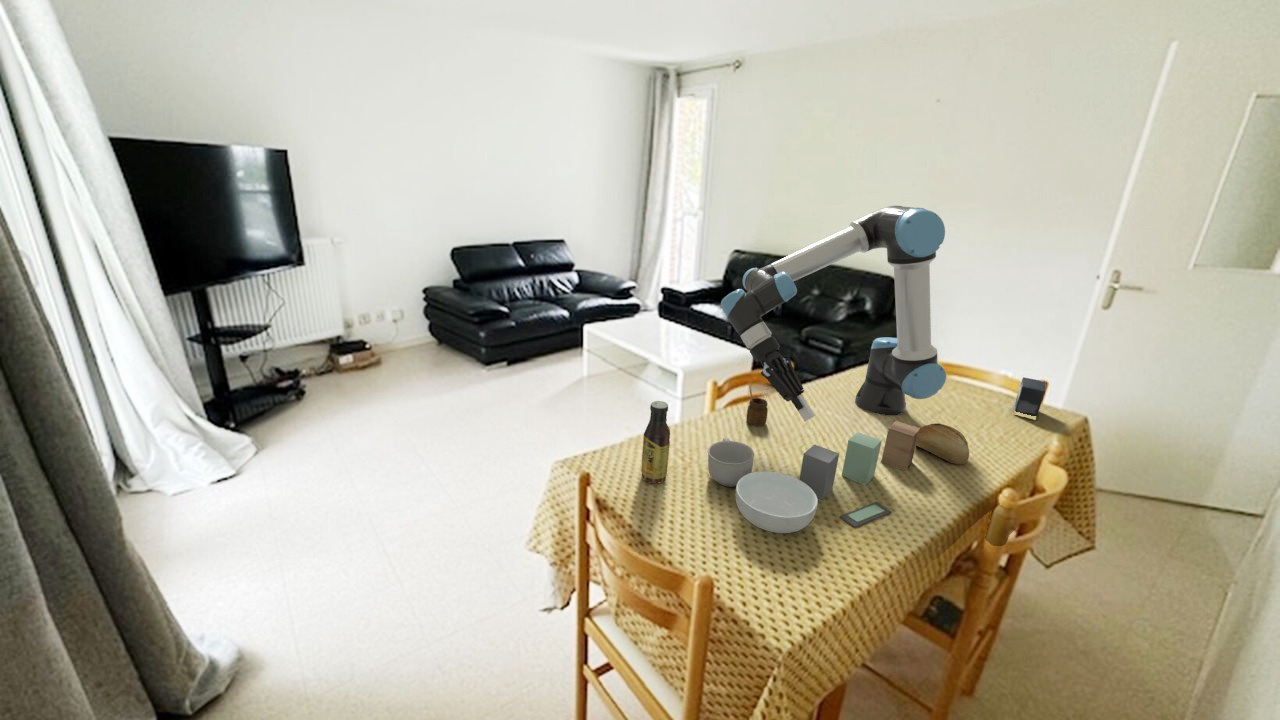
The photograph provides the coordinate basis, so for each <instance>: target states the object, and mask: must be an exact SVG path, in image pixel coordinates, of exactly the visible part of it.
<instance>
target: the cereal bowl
mask: <svg viewBox="0 0 1280 720" xmlns="http://www.w3.org/2000/svg"><path fill="white" fill-rule="evenodd" d="M735 502H736V505H737V508H738V510H739V513H740V514H742V516H743V517H744V519H746V520H747V521H748V522H750V524H751V525H752V524H753V526H754V527H757V528H760V529H762V530H765V531H766V532H771V533H775V534H776V533H777V534H788V533H789V534H791V533H794V532H798V531H800V530H803V529H804V528H806V527H807V526H808V525H809V524H811V522H812V520H813V519H814V517H815V515H816V512H817V507H818V503H819V500H818V499H817V496H816V494H815V493H814V491H813V490H812V489H811V488H810V487H809V486H808V485H806V484H805V483H804V482H802V481H800V480H799V479H798V478H796V477H793V476H792V475H788V474H787V473H781V472H777V471H771V470H770V471H761V470H760V471H754V472H752V473H750V474H747V475H745V476H743V477H742V478H741V479H740V480H739V481H738V483H737V486H735Z"/></svg>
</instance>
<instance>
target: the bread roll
mask: <svg viewBox="0 0 1280 720" xmlns="http://www.w3.org/2000/svg"><path fill="white" fill-rule="evenodd" d="M919 428H920V431H919V435H918V439H917V443H916V447H919V448H921V449H923V450H925V451H927V452H930V453H931V454H934V455H936V456H937V457H939V458H941V459H943V460H945V461H946V462H948V463H951V464H953V465H963V464H966V463H967V462H968V461H969V457H970V449H969V444H968V441H967V438H966V437H965V435H964V434H963V433H961V431H959V430H958V429H956V428H954V427H951V426H950V425H947V424H943V423H939V422H938V423H930V424H927V425H923V426H921V427H920V426H919Z"/></svg>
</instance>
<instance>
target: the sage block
mask: <svg viewBox="0 0 1280 720" xmlns="http://www.w3.org/2000/svg"><path fill="white" fill-rule="evenodd" d="M882 442H883V440H882V439H879V438H876V437H873V436H871V435H867V434H864V433H862V432H858V431H856V433H855V434H853V436H851V437H850V438H849V439H848V442H847V445H846V446H847V447H846V451H845V457H844V462H843V466H842V471H841V476H842V477H845V479H846V478H847V479H849V480H852V481H854V482H856V483H859V484H862V485H864V486H867V484H869V483H870V481H871V480H872V479H873V477H875V473H876V469H877V464H878V461H879V460H878V459H879V454H880V451H881V446H882Z"/></svg>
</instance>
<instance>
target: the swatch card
mask: <svg viewBox="0 0 1280 720" xmlns="http://www.w3.org/2000/svg"><path fill="white" fill-rule="evenodd" d="M889 514H892V510H891V509H889V508H887V507H885V506H884V505H882V503H879V502H878V501H875V502H872V503H869V504H867V505H864V506H861V507H859V508H857V509H854V510H851V511H849V512H846V513H844V514H841V515H840V516H839V518H840V519H841V520H843V521H844V522H846V524H849V526H851V527H853V528H854V529H855V528H858V527H861V526H863V525H865V524H867V523H871V522H872V521H875V520H877V519H880V518H882V517H884V516H887V515H889Z"/></svg>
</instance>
